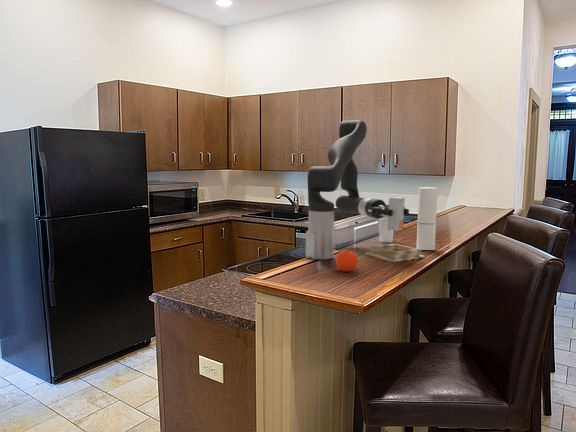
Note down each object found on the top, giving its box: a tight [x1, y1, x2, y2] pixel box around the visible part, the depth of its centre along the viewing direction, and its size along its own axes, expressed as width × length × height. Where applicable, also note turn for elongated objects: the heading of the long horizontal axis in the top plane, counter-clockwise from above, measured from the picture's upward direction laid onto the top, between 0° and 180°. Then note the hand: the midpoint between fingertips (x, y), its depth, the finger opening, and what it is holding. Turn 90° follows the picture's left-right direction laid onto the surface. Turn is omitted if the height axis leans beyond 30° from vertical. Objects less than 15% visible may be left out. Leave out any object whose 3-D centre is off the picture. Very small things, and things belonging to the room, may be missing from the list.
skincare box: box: [387, 196, 405, 232], centre depth 167 cm, size 6×4×12 cm
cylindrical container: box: [415, 186, 439, 251], centre depth 182 cm, size 7×7×25 cm
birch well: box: [364, 243, 426, 263], centre depth 169 cm, size 16×15×3 cm
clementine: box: [335, 249, 359, 273], centre depth 144 cm, size 8×7×7 cm
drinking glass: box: [378, 217, 394, 244], centre depth 201 cm, size 7×7×10 cm
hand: (400, 212), depth 165 cm, fingers closed on skincare box, 7 cm apart
